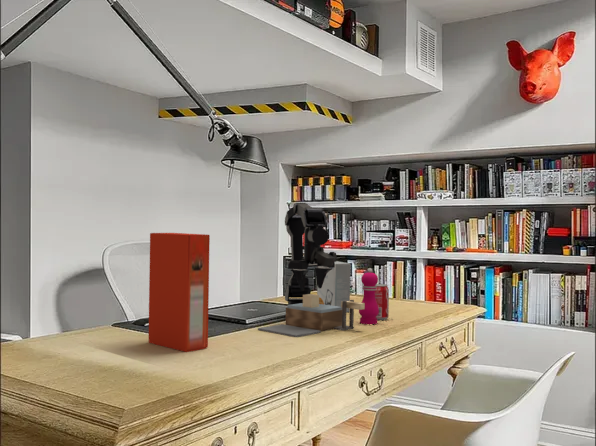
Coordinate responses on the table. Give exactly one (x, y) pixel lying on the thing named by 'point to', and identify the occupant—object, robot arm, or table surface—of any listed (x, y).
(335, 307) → the lid
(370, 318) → the pepper mill
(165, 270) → the file binder
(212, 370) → the table surface
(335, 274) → the hard drive box
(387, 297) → the soda can
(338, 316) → the open wooden box
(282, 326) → the felt pad
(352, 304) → the tan wooden bar
